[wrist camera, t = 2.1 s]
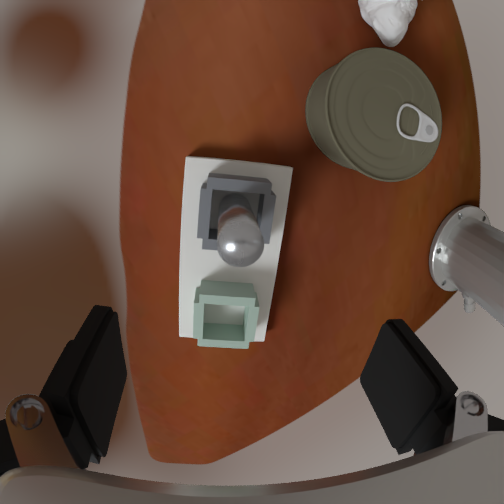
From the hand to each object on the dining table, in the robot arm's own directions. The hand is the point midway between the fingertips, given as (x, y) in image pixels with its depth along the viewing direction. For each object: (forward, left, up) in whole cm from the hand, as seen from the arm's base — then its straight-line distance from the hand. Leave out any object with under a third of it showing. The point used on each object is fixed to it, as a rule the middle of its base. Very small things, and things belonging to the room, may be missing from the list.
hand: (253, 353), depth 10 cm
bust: (+13, -25, -22) cm, 36 cm away
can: (+2, -16, -22) cm, 27 cm away
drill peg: (0, 0, -20) cm, 20 cm away
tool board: (-5, +3, -22) cm, 22 cm away
